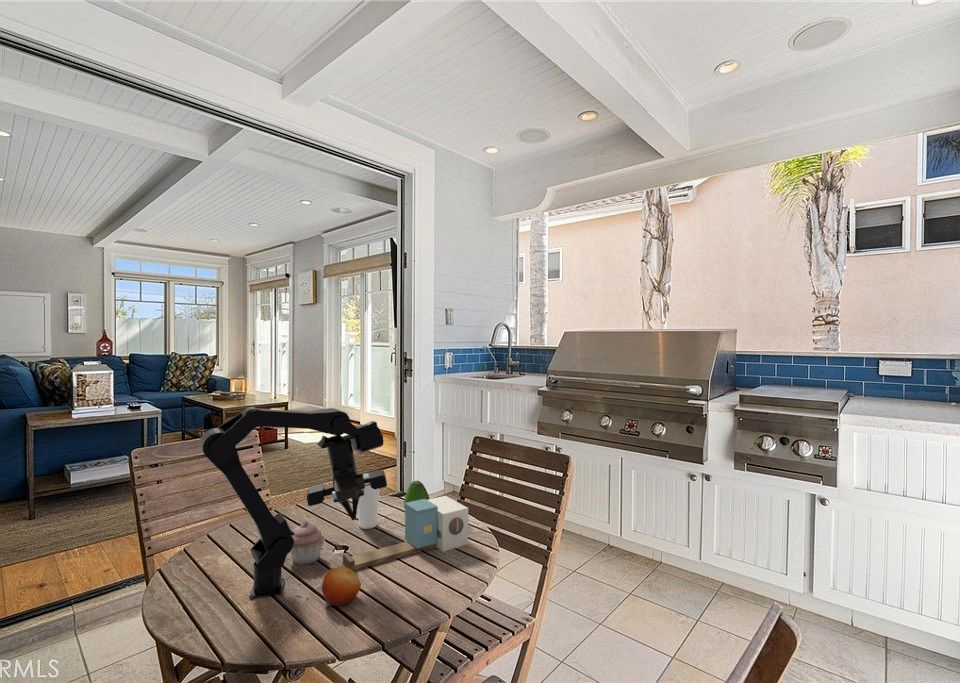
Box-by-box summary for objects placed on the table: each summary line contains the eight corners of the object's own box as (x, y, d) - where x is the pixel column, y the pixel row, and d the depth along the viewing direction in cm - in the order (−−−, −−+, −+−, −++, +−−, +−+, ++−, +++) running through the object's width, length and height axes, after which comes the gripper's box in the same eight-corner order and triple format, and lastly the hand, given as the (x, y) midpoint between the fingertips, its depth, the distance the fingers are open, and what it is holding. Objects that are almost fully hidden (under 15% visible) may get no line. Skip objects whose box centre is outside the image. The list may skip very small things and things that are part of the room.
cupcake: (277, 563, 119) (277, 523, 119) (305, 548, 128) (306, 511, 127) (305, 571, 115) (306, 530, 115) (333, 555, 124) (333, 517, 124)
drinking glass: (355, 523, 145) (355, 473, 145) (378, 520, 147) (378, 472, 147) (356, 531, 139) (357, 480, 139) (380, 529, 141) (380, 478, 141)
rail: (349, 571, 115) (349, 561, 115) (342, 563, 119) (342, 553, 119) (436, 546, 129) (436, 538, 129) (427, 540, 133) (427, 531, 133)
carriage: (417, 549, 124) (417, 511, 124) (404, 539, 130) (404, 503, 130) (437, 543, 128) (438, 506, 128) (424, 533, 134) (424, 498, 134)
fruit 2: (432, 514, 152) (432, 477, 152) (426, 524, 144) (427, 485, 144) (407, 513, 153) (407, 476, 153) (401, 523, 145) (401, 484, 145)
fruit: (311, 590, 104) (331, 556, 106) (343, 602, 107) (363, 569, 108) (312, 610, 97) (334, 573, 98) (347, 623, 99) (367, 586, 100)
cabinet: (444, 553, 126) (444, 515, 125) (421, 536, 136) (421, 501, 136) (469, 545, 130) (470, 509, 130) (445, 529, 141) (445, 495, 141)
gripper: (299, 481, 106) (312, 546, 108) (383, 460, 111) (394, 523, 113) (303, 464, 117) (315, 524, 119) (379, 446, 122) (390, 504, 124)
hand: (353, 519), depth 118 cm, fingers closed
